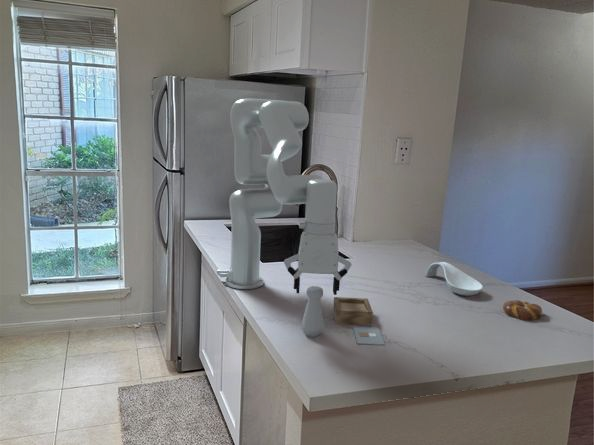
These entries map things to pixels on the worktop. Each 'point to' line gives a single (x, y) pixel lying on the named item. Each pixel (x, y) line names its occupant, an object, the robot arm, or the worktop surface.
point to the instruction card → (368, 335)
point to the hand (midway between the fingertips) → (316, 292)
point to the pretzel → (522, 310)
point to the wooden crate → (352, 311)
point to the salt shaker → (313, 312)
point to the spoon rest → (456, 279)
